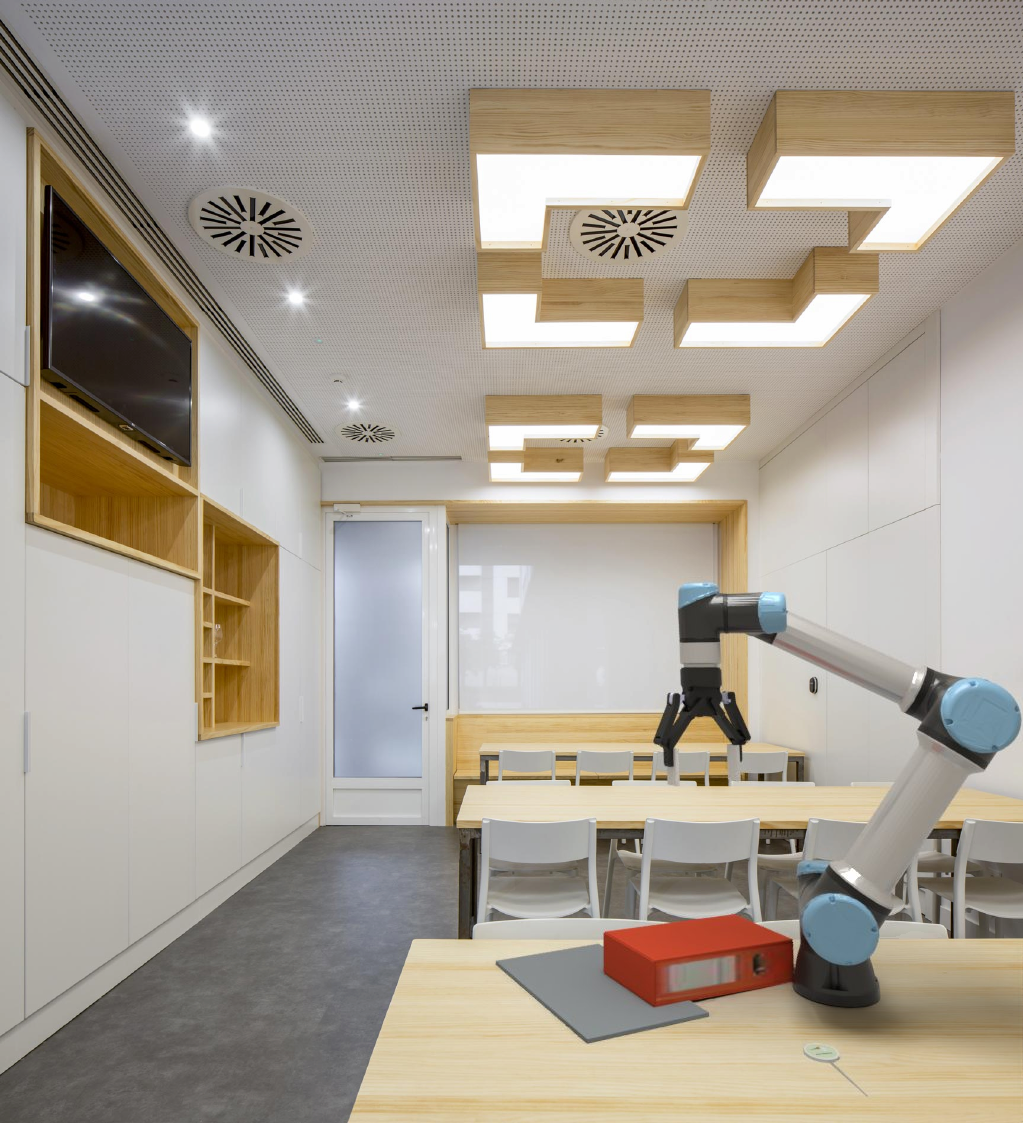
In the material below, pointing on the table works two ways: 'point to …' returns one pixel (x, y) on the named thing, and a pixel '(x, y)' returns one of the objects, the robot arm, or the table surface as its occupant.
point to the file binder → (697, 958)
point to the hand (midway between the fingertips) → (704, 783)
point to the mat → (591, 994)
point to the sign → (825, 1056)
